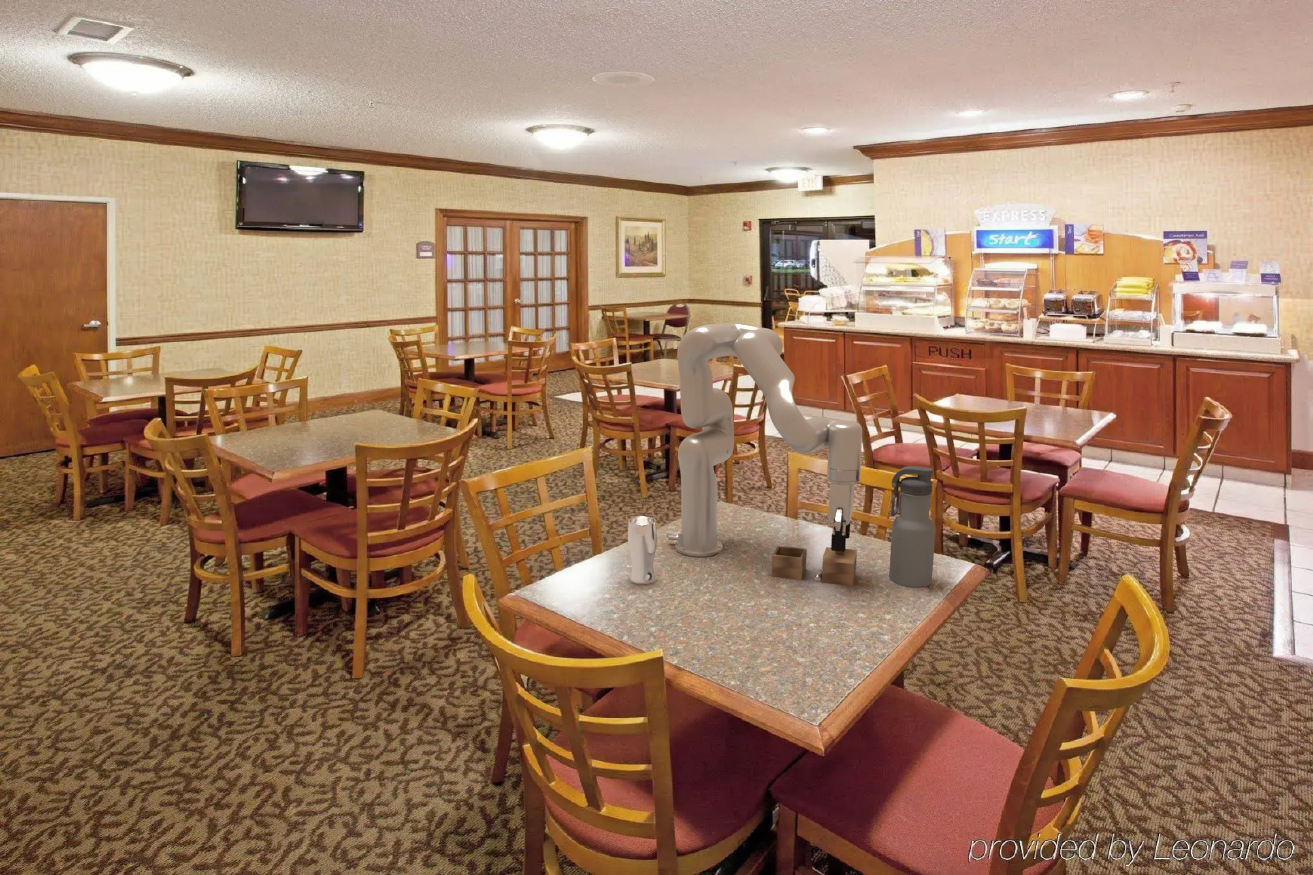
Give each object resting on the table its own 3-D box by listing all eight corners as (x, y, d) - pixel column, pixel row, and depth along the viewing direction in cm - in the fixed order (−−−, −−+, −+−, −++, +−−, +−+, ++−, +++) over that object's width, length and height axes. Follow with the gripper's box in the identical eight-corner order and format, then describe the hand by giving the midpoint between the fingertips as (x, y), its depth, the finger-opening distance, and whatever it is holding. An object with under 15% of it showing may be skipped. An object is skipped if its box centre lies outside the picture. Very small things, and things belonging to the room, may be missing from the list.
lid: (822, 560, 188) (823, 534, 187) (826, 550, 195) (827, 524, 193) (853, 564, 186) (855, 537, 184) (856, 553, 193) (857, 527, 191)
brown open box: (771, 578, 193) (772, 555, 192) (777, 568, 200) (777, 545, 199) (801, 582, 191) (802, 558, 190) (805, 571, 197) (806, 548, 196)
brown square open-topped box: (821, 584, 189) (822, 560, 188) (825, 574, 196) (826, 550, 195) (852, 588, 187) (853, 564, 186) (855, 577, 194) (856, 554, 192)
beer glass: (623, 582, 191) (622, 522, 188) (637, 572, 197) (636, 514, 194) (648, 587, 188) (648, 526, 185) (662, 577, 194) (661, 518, 191)
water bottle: (883, 584, 189) (889, 470, 183) (891, 571, 198) (898, 461, 192) (927, 592, 184) (935, 475, 179) (934, 578, 193) (942, 466, 187)
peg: (812, 583, 190) (820, 585, 190) (813, 576, 190) (822, 578, 189) (815, 576, 195) (823, 578, 194) (816, 568, 194) (824, 570, 194)
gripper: (831, 464, 195) (829, 531, 199) (822, 482, 179) (819, 554, 183) (863, 467, 193) (859, 534, 196) (856, 485, 177) (853, 558, 180)
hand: (840, 544), depth 190 cm, fingers open, 9 cm apart
